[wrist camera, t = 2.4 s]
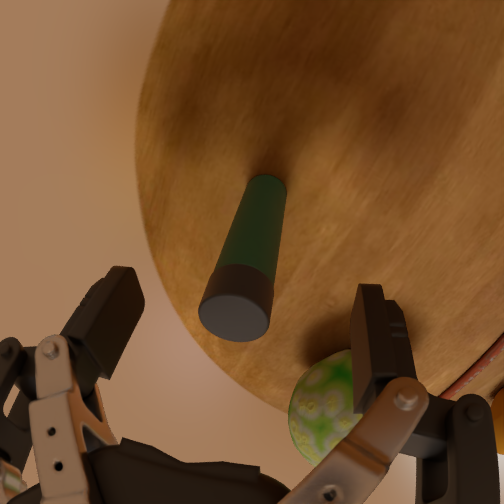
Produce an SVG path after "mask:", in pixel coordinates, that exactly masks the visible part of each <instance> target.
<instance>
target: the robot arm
mask: <svg viewBox="0 0 504 504" xmlns="http://www.w3.org/2000/svg"><path fill="white" fill-rule="evenodd" d="M144 306H145V299H144V296H143V292H142V290H141V287H140V284H139V281H138V278H137V275H136V272H135V270H134V269H133V268H132V267H123V266H113V267H112V268H111V269H110V271H109V272H108V273H107V275H106V276H105V278H101V279H100V280H99V281H98V282H96V283H95V284H94V285H92V286H91V288H90V289H89V291H88V292H87V294H86V295H85V298H83V300H82V301H81V302H80V306H78V307H77V308H76V310H75V311H74V313H73V314H72V316H71V317H70V319H69V320H68V322H67V323H66V325H65V327H64V328H63V330H62V331H61V333H60V334H59V335H51V336H48V337H46V338H45V339H43V340H42V341H41V342H40V343H39V345H38V346H35V347H23V346H22V345H21V343H20V342H19V341H18V339H16V338H14V337H9V338H6V339H4V340H2V341H1V342H0V504H363V503H364V502H365V501H366V499H367V498H368V497H369V496H370V495H371V493H372V492H373V491H374V490H375V488H376V487H377V486H378V485H379V483H380V482H381V481H382V479H383V478H384V477H385V475H386V474H387V472H388V470H389V467H390V465H391V463H392V462H393V460H394V459H395V457H396V456H397V455H398V453H402V454H406V455H409V456H414V457H416V499H415V504H500V483H499V467H498V456H497V447H496V439H495V431H494V424H493V418H492V412H491V409H490V406H489V404H488V403H487V402H486V400H485V399H483V398H482V397H481V396H479V395H476V394H466V395H464V396H462V397H460V398H459V399H458V400H457V401H452V400H448V399H444V398H440V397H437V396H434V395H432V394H430V393H428V392H427V390H426V388H425V387H424V386H423V384H421V383H420V382H419V381H418V379H417V376H416V371H415V365H414V360H413V355H412V350H411V345H410V340H409V338H408V331H407V327H406V322H405V318H404V314H403V311H402V310H401V308H400V307H399V306H398V304H397V303H396V302H395V300H385V298H384V294H383V289H382V286H381V285H380V284H359V285H358V288H357V293H356V297H355V301H354V305H353V309H352V313H351V319H350V342H351V358H352V380H353V414H363V417H362V418H361V419H360V420H359V422H358V423H357V424H356V425H355V426H354V428H353V429H352V430H351V431H350V432H349V433H348V435H347V436H346V437H344V438H343V439H342V440H341V441H340V442H339V443H338V444H337V445H336V446H335V447H334V448H333V449H332V450H331V451H330V452H329V453H328V454H327V456H326V457H325V458H324V459H323V460H322V461H321V462H320V463H319V464H318V465H317V466H316V467H315V468H314V469H313V470H312V471H311V472H310V473H309V474H308V475H307V476H306V477H305V478H304V479H303V480H302V481H301V482H300V483H299V484H298V485H297V486H296V487H295V488H294V489H293V490H292V491H291V490H290V489H288V488H287V487H286V486H285V485H284V484H282V483H281V482H279V481H277V480H276V479H274V478H272V477H270V476H267V475H265V474H262V473H260V466H252V465H244V464H237V463H230V462H224V461H221V462H200V463H185V462H182V461H179V460H177V459H176V458H173V457H172V456H170V455H168V454H166V453H164V452H162V451H160V450H159V449H157V448H155V447H153V446H150V445H146V444H143V443H140V442H136V441H133V440H130V439H126V438H123V437H122V440H121V443H120V444H118V442H117V441H116V438H115V437H114V435H113V434H112V432H111V430H110V428H109V425H108V422H107V419H106V415H105V411H104V407H103V404H102V400H101V396H100V391H99V387H98V385H97V383H96V382H97V380H98V377H102V378H105V379H108V380H110V378H111V376H112V374H113V372H114V370H115V368H116V366H117V364H118V361H119V359H120V357H121V355H122V353H123V351H124V349H125V347H126V345H127V343H128V341H129V339H130V337H131V335H132V333H133V331H134V329H135V327H136V325H137V323H138V321H139V319H140V317H141V315H142V313H143V311H144ZM14 384H15V385H16V387H17V388H18V389H19V390H20V391H19V394H18V396H17V398H16V400H15V402H14V404H13V406H12V408H11V410H10V413H9V415H8V417H6V416H5V415H4V412H3V406H4V403H5V401H6V399H7V397H8V394H9V393H10V390H11V388H12V387H13V385H14ZM32 445H33V449H34V455H35V461H36V466H37V472H38V477H39V483H38V484H36V485H34V486H32V487H31V488H29V489H27V484H26V482H25V481H24V480H22V472H23V470H24V467H25V464H26V461H27V458H28V456H29V453H30V450H31V447H32Z"/></svg>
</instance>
